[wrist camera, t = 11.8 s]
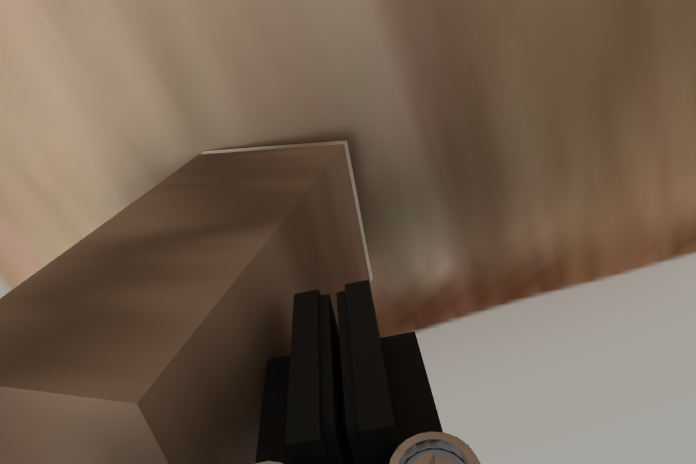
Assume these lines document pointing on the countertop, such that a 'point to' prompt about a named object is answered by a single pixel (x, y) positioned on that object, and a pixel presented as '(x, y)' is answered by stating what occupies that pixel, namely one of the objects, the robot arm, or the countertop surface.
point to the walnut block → (177, 311)
